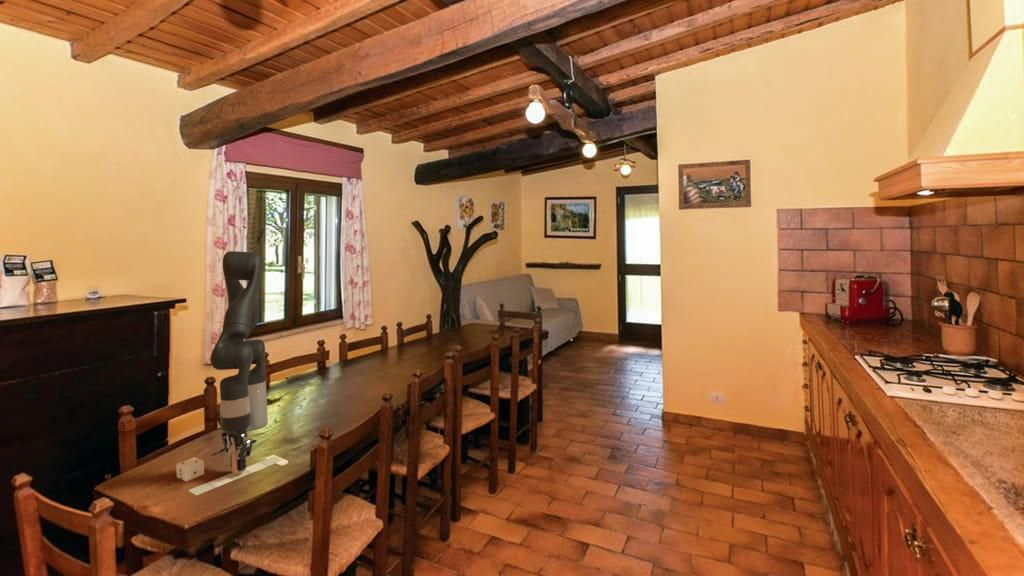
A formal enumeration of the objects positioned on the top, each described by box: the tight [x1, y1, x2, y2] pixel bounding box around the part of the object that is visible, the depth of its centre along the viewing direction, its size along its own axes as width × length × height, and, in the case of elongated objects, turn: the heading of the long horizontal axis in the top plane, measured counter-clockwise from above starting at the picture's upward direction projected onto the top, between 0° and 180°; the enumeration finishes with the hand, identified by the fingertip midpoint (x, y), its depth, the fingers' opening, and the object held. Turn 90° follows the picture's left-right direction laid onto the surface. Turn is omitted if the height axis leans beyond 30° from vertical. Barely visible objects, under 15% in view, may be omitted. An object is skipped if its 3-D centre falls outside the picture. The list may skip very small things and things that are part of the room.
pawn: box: [231, 444, 244, 474], centre depth 136 cm, size 3×3×9 cm
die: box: [175, 457, 205, 482], centre depth 136 cm, size 5×5×5 cm
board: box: [187, 454, 289, 496], centre depth 137 cm, size 8×26×1 cm, turn 148°
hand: (238, 468), depth 137 cm, fingers closed on pawn, 3 cm apart
